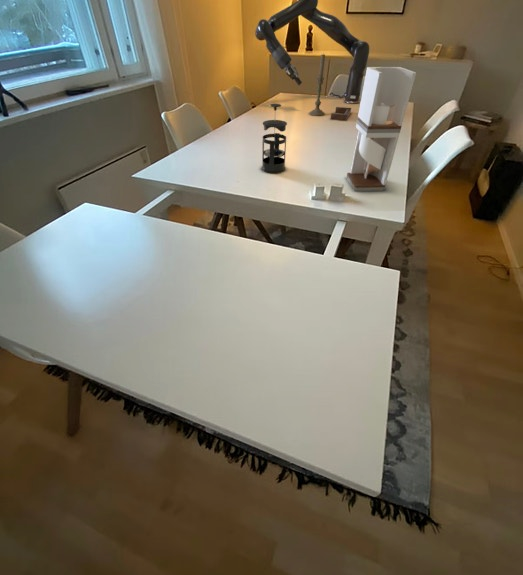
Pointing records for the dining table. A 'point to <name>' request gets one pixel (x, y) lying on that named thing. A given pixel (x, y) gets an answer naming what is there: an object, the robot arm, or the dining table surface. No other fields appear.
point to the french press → (274, 146)
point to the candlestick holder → (319, 89)
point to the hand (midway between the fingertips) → (300, 84)
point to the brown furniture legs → (342, 116)
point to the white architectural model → (379, 125)
